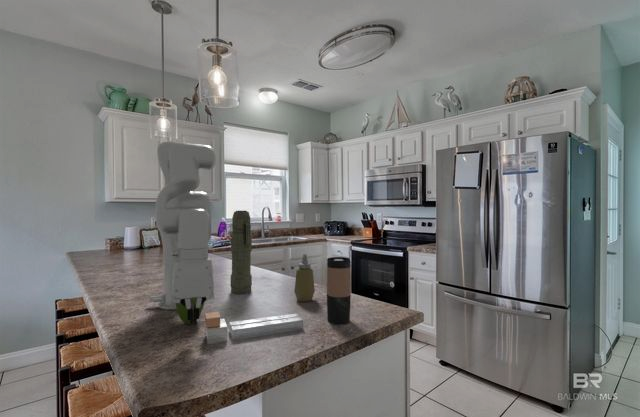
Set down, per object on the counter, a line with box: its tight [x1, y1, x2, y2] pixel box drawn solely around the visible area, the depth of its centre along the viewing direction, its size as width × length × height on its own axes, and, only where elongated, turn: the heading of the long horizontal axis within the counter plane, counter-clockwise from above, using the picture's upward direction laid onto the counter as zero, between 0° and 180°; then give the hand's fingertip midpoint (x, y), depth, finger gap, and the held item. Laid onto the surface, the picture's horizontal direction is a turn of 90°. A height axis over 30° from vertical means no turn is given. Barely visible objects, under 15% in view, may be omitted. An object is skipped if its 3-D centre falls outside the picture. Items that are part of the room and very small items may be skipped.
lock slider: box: [204, 311, 221, 329], centre depth 88 cm, size 4×5×2 cm
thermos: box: [230, 210, 253, 295], centre depth 137 cm, size 9×12×35 cm
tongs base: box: [205, 316, 304, 345], centre depth 93 cm, size 27×7×4 cm, turn 113°
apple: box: [176, 298, 205, 325], centre depth 100 cm, size 9×8×12 cm
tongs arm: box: [229, 313, 300, 335], centre depth 96 cm, size 20×3×3 cm, turn 113°
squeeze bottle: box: [294, 253, 316, 302], centre depth 126 cm, size 8×8×18 cm
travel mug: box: [326, 256, 352, 326], centre depth 102 cm, size 8×8×20 cm
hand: (193, 321), depth 86 cm, fingers closed
